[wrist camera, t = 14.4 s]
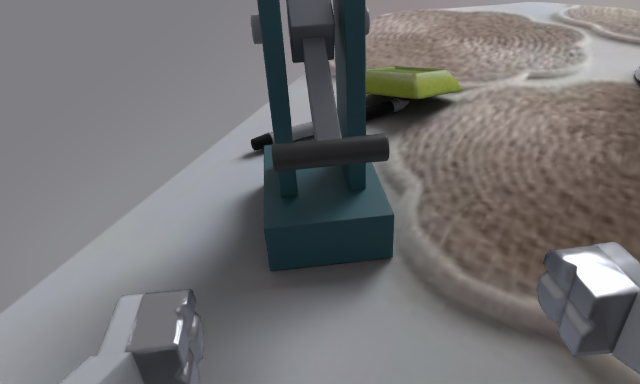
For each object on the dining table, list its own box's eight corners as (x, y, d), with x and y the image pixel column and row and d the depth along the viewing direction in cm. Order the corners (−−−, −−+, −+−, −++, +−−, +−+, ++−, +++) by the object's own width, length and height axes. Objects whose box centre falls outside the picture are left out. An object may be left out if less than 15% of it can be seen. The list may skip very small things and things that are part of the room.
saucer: (391, 64, 50) (390, 84, 51) (340, 69, 44) (340, 91, 45) (466, 68, 45) (463, 90, 46) (419, 74, 39) (418, 99, 39)
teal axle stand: (392, 257, 26) (402, -1, 19) (270, 271, 26) (231, 13, 18) (361, 172, 35) (359, -30, 27) (268, 181, 34) (241, -21, 27)
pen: (249, 145, 39) (249, 134, 38) (405, 102, 45) (408, 91, 44) (255, 155, 38) (255, 144, 37) (413, 110, 45) (417, 99, 44)
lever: (385, 173, 21) (393, 142, 19) (275, 184, 21) (270, 154, 19) (352, 21, 26) (355, -17, 24) (263, 28, 25) (258, -9, 23)
